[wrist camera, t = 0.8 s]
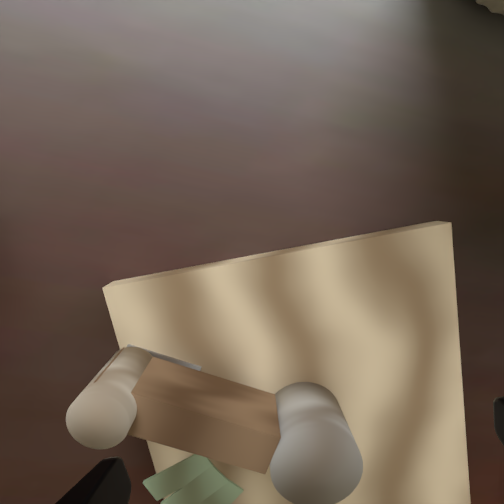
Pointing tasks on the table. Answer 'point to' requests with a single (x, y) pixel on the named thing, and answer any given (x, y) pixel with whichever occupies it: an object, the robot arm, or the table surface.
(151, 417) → the wooden dumbbell
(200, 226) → the table surface
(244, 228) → the table surface
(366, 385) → the striped placemat
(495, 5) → the canister
